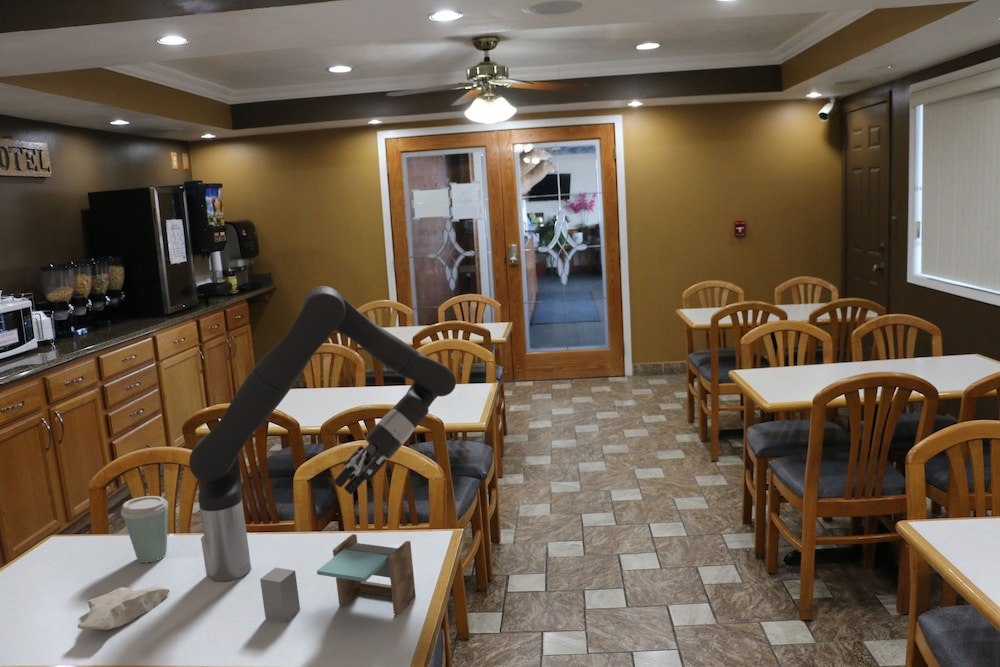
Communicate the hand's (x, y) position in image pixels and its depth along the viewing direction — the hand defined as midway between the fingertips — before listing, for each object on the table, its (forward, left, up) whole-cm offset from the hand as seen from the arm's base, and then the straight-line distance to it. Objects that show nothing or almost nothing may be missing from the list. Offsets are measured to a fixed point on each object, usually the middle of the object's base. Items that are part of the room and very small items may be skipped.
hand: (341, 488), depth 177 cm
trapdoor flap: (+13, -14, -14) cm, 24 cm away
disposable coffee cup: (-53, -6, -21) cm, 58 cm away
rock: (-40, -29, -21) cm, 54 cm away
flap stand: (+13, -9, -20) cm, 26 cm away
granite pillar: (-4, -19, -21) cm, 29 cm away
